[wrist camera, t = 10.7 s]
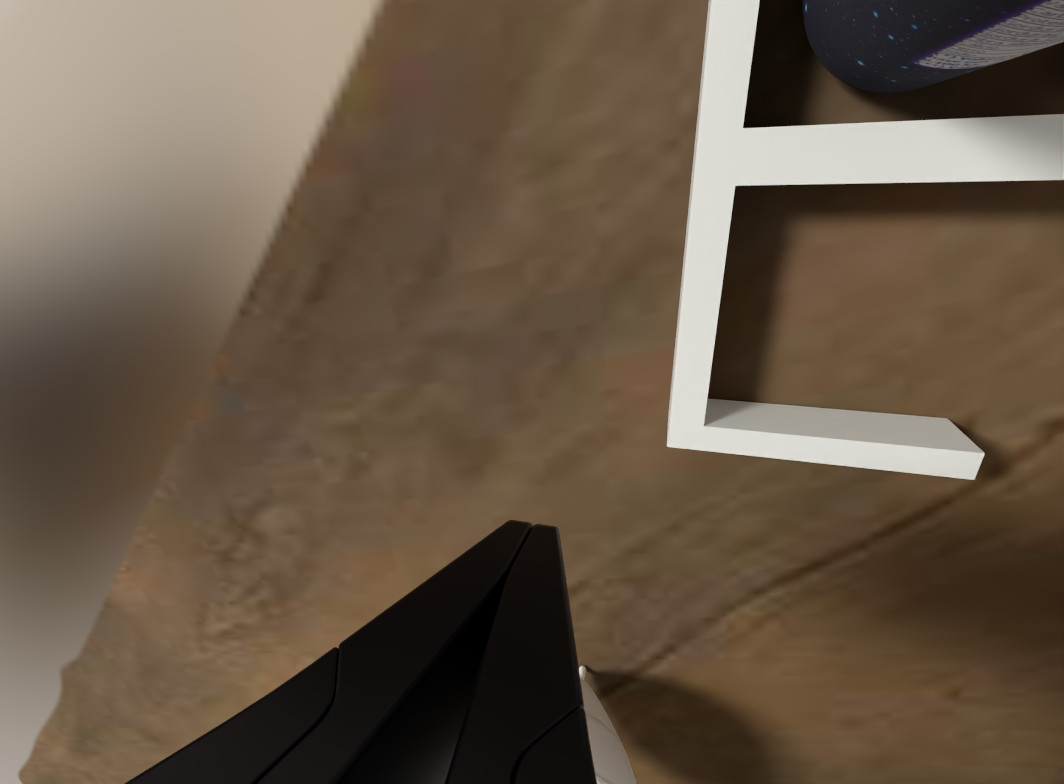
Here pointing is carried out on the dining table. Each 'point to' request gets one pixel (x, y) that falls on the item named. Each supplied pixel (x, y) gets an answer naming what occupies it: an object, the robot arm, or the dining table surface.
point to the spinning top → (604, 741)
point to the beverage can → (925, 37)
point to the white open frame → (800, 160)
